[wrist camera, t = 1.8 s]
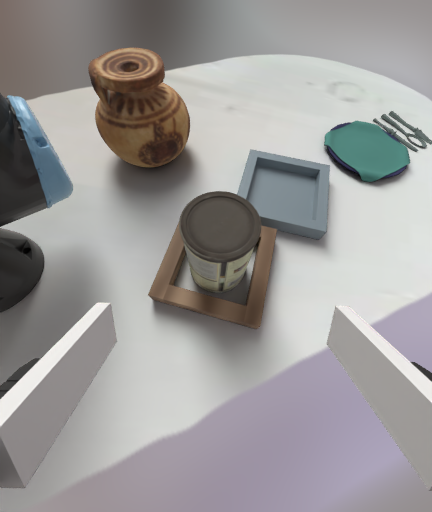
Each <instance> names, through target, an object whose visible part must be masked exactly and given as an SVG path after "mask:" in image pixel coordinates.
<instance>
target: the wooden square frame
mask: <svg viewBox="0 0 432 512" xmlns="http://www.w3.org/2000/svg"><path fill="white" fill-rule="evenodd" d="M276 232H277V229H274V228H270V227H266V226H262V225H261V234H260V237H259V240H258V242H257V244H256V245H258V248H257V252H256V257H255V262H254V267H253V271H252V276H251V281H250V286H249V290H248V295H247V300H246V304H245V305H241V304H237V303H234V302H230V301H227V300H223V299H219V298H216V297H212V296H208V295H205V294H201V293H198V292H194V291H190V290H187V289H183V288H179V287H176V286H173V285H174V283H175V280H176V277H177V275H178V272H179V269H180V267H181V264H182V261H183V259H184V256H185V253H186V250H185V246H184V242H183V240H182V237H181V235H180V231H179V223H178V226H177V228H176V230H175V233H174V235H173V237H172V240H171V242H170V244H169V247H168V249H167V252H166V254H165V256H164V259H163V261H162V263H161V266H160V268H159V270H158V273H157V275H156V278H155V280H154V282H153V285H152V287H151V289H150V292H149V294H148V295H149V296H150V297H151V298H152V299H153V300H156V301H159V302H163V303H166V304H170V305H173V306H177V307H181V308H184V309H188V310H191V311H195V312H198V313H202V314H205V315H209V316H212V317H216V318H219V319H223V320H226V321H230V322H233V323H237V324H240V325H244V326H247V327H251V328H254V329H257V328H259V327H260V324H261V318H262V313H263V307H264V301H265V295H266V290H267V284H268V278H269V272H270V267H271V261H272V255H273V249H274V243H275V238H276Z"/></svg>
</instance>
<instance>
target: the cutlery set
mask: <svg viewBox="0 0 432 512" xmlns="http://www.w3.org/2000/svg"><path fill="white" fill-rule="evenodd" d="M389 115H390V116H392V117H393V118H395V119H396V120H397V121H398V122H400V123H401V124H403V125H404V126H406V127H407V128H409V129H411V130H413V132H414V133H415V135H413V134H410V133H408V134H407V133H406V132H405V131H404V130H403V129H402V128H401V127H399V126H398V125H397V124H396V123H395V122H394V121H393V120H391V119H390V118H389V117H388V116H386V115H385V114H383V115H382V116H381V118H383V119H385V120H386V121H388V122H389V123H391V124H392V125H394V126H395V127H396V128H397V129H399V130H400V131H401V132H402V133H404V134H405V135H406V136H407V139H408V140H409V141H410V142H411V143H412V144H414V145H416V146H419V145H417V144H416V143H414V142H412V141H411V140H410V139H409V138H408V137H409V136H410V137H414V138H416V139H418V140H419V141H420V142H421V143H422V145H423V146H420V147H426V146H427V145H426V143H425V142H424V141H426V142H427V143H429V142H430V141H431V140H430V139H429V138H428V137H427V136H426V135H425V134H423V133H422V131H421V130H419V129H418V128H414V127H413V126H411V125H409V124H407V123H406V122H405V121H403V120H402V119H401V118H400V117H399V116H398V115H397V114H395V113H394V112H393V111H391V112H390V113H389ZM373 121H375V122H377V123H378V124H380V125H381V126H383V127H384V128H385V129H387V131H388V132H386V131H384V130H383V129H381V128H380V127H379V126H377V125H375V124H371V123H366V122H361V121H355V122H352V123H344V124H340V125H337V126H336V127H334V128H332V129H331V131H329V132H328V133H327V134H326V135H325V142H324V143H325V144H324V145H327V147H328V149H329V152H330V153H331V155H332V156H333V157H334V158H335V159H336V160H337V162H339V163H340V164H342V165H343V166H344V167H346V168H347V169H349V170H351V171H354V172H356V173H358V174H360V176H361V179H362V180H363V181H366V182H372V181H376V180H378V179H380V178H389V177H392V176H395V175H398V174H400V173H401V172H402V171H403V170H405V169H406V167H407V164H409V163H410V159H409V154H408V149H407V148H406V147H405V146H404V145H406V146H407V147H408V148H410V149H411V150H413V151H416V152H417V151H418V150H417V149H416V148H415V147H413V146H412V145H410V144H409V143H408V142H406V141H405V140H404V139H402V138H401V137H400V136H398V135H397V134H395V133H396V132H397V131H396V132H394V131H393V129H390V128H388V127H386V126H385V125H383V124H381V123H380V122H379V121H377V120H376V118H375V119H374V120H373ZM389 133H391V134H389ZM394 136H395V137H396V138H397V139H398V140H399V141H400V142H402V143H403V144H404V145H403V144H402V143H400V142H399V141H398V140H397V139H396V138H395V137H394ZM417 136H418V137H417ZM422 139H423V140H424V141H423V140H422ZM429 144H430V145H431V144H432V141H431V142H430V143H429Z"/></svg>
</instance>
